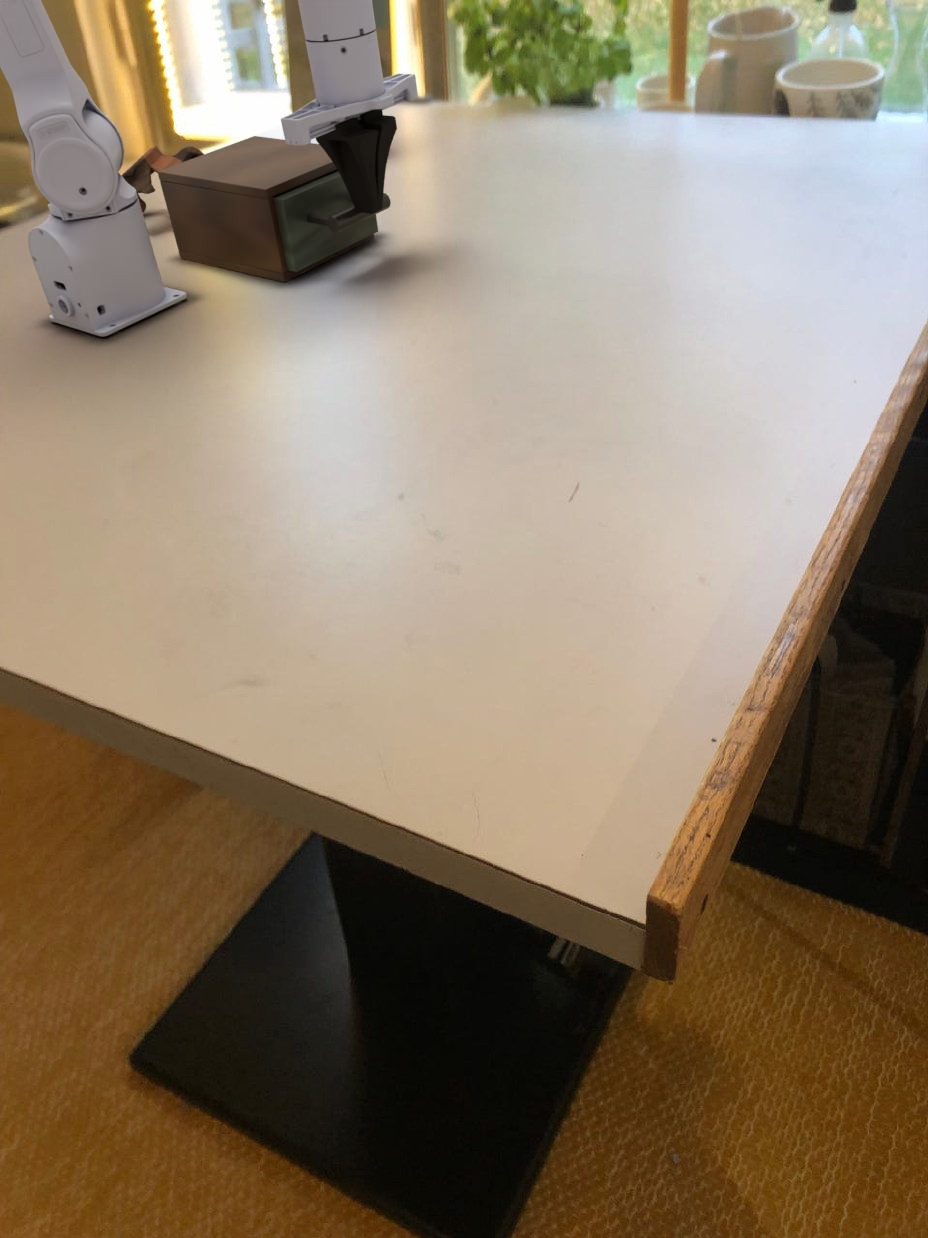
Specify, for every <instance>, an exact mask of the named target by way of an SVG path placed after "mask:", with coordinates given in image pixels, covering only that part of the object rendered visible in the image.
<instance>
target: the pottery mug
mask: <svg viewBox="0 0 928 1238" xmlns="http://www.w3.org/2000/svg"><path fill="white" fill-rule="evenodd" d="M204 154H205V153H204V152H203V151H202V150H200V149H199V148H197V147H195V146H186V147H183V148H182V149H180V150H179V151H178V152H177V153H176V154H174V155H168V154H163V152H162V151H161V149H159V147H158V146H157V145H155V146H153V147H150V148H149V149H148V150H147V151H146V152H144V154H142V155H141V156H140V157H139V158H138V159H137V160H136V161H135V162H134V163H133V164H132V165H131V166H130V167H128V168H127V169H126V170H125V172H123V173H122V174H120V175H121V176H122V177H123V178H124V179H125V181H126V182H127V183H128V184H129V185H131V186H132V187H133V188H135V189H136V192H137V197H138V199H139V202H140V206H141V209H142V213H143V214H144V213H145V212H146V209H147V203H146V201H145V200H144V199H142V197H141V196H140V194H144V195H149V194H153V193H155V192H156V189H155V187H154V185H153V184H152V183H153V182H152V175H153V174H154V173H156V174H158V171H160V170H163V169H166V168H169V167H171V166H174V165H177V164H180V163H182V162H185V161H188V160H190V159H193V158H196V157H199V156H201V155H204Z"/></svg>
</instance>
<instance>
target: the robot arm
mask: <svg viewBox="0 0 928 1238" xmlns="http://www.w3.org/2000/svg"><path fill="white" fill-rule="evenodd" d="M297 4H298V8H299V14H300V19H301V24H302V30H303V36H304V41H305V47H306V51H307V56H308V62H309V67H310V74H311V78H312V84H313V88H314V95H315V98H314V99H313V100H311V101H310V102H308V103H306V104H304V105H303V106H302V107H300V108H299V109H296V111H294V112H293V113H291V114H288V115H286V116H283V117H281V118H280V123H281V127H282V128H281V129H282V133H283V138H284V140H285V142H286V144H287V145H298V146H305V145H307V144H309V143H312V140H314V139H315V141H316V142H317V144H319V145H320V146H321V147H322V148H323V149H324V151H325V152H326V153H327V155H328V156H329V157H330V159H331V160H332V162H333V163H334V165H335V167H336V168H337V170H338V172H339V174H340V176H341V177H342V179H343V182H344V184H345V186H346V188H347V190H348V192H349V195H350V197H351V199H352V202H353V204H354V207H355V208H356V209H357V210H358V211H359V212H361V213H368V214H374V213H376V212H378V211H380V210H382V206H383V193H385V191H384V190H385V179H386V171H387V164H388V158H389V155H390V150H391V147H392V144H393V140H394V137H395V136H396V132H397V129H398V125H397V120H396V116H394V115H385V114H383V111H384V110H387V109H390V108H392V107H394V106H396V105H399V104H401V103H404V102H413V101H416V100H418V99H419V94H418V93H419V92H418V86H417V78H416V74H415V73H396V74H393V75H389V76H387V77H384V75H383V69H382V60H381V54H380V46H379V41H378V40H379V39H378V31H377V25H376V19H375V12H374V5H373V4H374V3H373V0H297ZM0 69H1V71H2V74H3V75H4V77H5V80H6V81H7V84H8V85H9V88H10V90H11V93H12V96H13V100H14V105H15V109H16V114H17V119H18V122H19V126H20V128H21V130H22V132H23V134H24V137H25V138H26V141H27V143H28V146H29V149H30V155H31V156H30V157H31V158H30V159H31V172H32V173H31V174H32V177H33V180H34V183H35V185H36V186H37V188H38V190H39V192H40V194H42V196H43V197H44V198H45V199H46V200H47V201H48V202H49V203H48V204H47V207H48V210H49V213H50V214H49V215H48V217H47V218H46V219H45V220H44V221H43V222H42V223H41V224H38V225H36V226H35V227H33V228H32V229H30V231H29V232H28V240H27V242H28V243H27V244H28V250H29V253H30V254H29V255H30V257H31V260H32V263H33V265H34V268H35V271H36V274H37V276H38V279H39V282H40V285H41V287H42V290H43V293H44V295H45V298H46V301H47V303H48V306H49V310H50V311H51V314H49V316H48V318H49V321H51V322H53V323H57V324H59V325H62V326H66V327H68V328H72V329H75V330H78V331H82V332H85V333H88V334H91V335H95V336H97V337H101V338H103V337H107V336H110V335H112V334H114V333H116V332H118V331H121V330H123V329H125V328H127V327H129V326H131V325H133V324H135V323H138V322H139V321H142V320H143V319H146V318H148V317H150V316H153V315H154V314H156V313H159V312H161V311H163V310H165V309H167V308H169V307H171V306H173V305H175V304H178V303H179V302H181V301H184V300H186V299H187V298H188V295H187V292H186V291H183V290H179V289H174V288H172V287H171V288H170V287H167V286H164V283H163V280H162V275H161V273H160V268H159V265H158V262H157V259H156V255H155V252H154V247H153V245H152V240H151V238H150V233H149V231H148V227H147V223H146V220H145V217H144V213H142V209H141V206H140V202H139V199H138V197H137V192H136V189H135V188H133V187H132V186H131V185H129V184H128V183H127V182H126V181H125V179H124V178H123V177H122V176H121V175H122V174H120V170H121V169H122V167H123V164H124V160H125V144H124V141H123V137H122V135H121V133H120V130H119V129H118V127H117V126H116V125H115V122H113V121H112V120H111V118H110V117H108V116H107V114H106V113H104V112H103V111H102V110H101V109H100V108H99V107H98V106H97V105H96V103H95V102H94V100H93V98H92V96H91V94H90V92H89V90H88V87H87V86H86V84H85V82H84V81H83V80H82V78H81V76H80V75H79V74H78V73H77V71H76V70H75V69H74V67H73V66H72V63H71V61H70V60H69V58H68V56H67V54H66V51H65V49H64V47H63V45H62V43H61V40H60V38H59V36H58V34H57V32H56V30H55V28H54V25H53V24H52V21H51V19H50V16H49V14H48V12H47V10H46V8H45V6H44V4H43V2H42V0H0Z"/></svg>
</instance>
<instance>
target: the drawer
mask: <svg viewBox="0 0 928 1238" xmlns="http://www.w3.org/2000/svg"><path fill="white" fill-rule="evenodd" d="M273 197H274V199H273V200H274V205H275V210H276V215H277V220H278V225H279V230H280V235H281V240H282V245H283V250H284V255H285V260H286V265H287V270H289V271H293V272H298V271H300V270H302V269H304V268H306V267H308V266H310V265H312V264H314V263H316V262H318V261H320V260H322V259H324V258H326V257H328V256H330V255H332V254H334V253H336V252H338V251H340V250H342V249H344V248H346V247H348V246H350V245H352V244H354V243H356V242H358V241H360V240H362V239H364V238H367V237H369V236H371V235H373V234H374V235H375V234H376V233H378V232H379V226H378V218H377V214H380V213H381V212H384V211H385V210H388V209H389V208H390V207H391V203H392V201H391V198H390V196H389V195H388V194H387V193H385V192H383V206H382V210H380V211H378V212H376V213H374V214H368V213H361V212H359V211H358V210H357V209H356V208H355V207H354V204H353V202H352V199H351V197H350V195H349V192H348V190H347V188H346V186H345V184H344V182H343V179H342V177H341V176H340V174H339V172H338V170H335V171H332V172H330V173H328V174H325V177H323V178H320V179H318V180H316V181H313V182H311V183H309V184H306V185H304V186H302V187H299V188H297V189H295V190H292V191H290V192H288V193H285V194H283V195H280V196H278V197H276V198H275V196H273Z"/></svg>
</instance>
